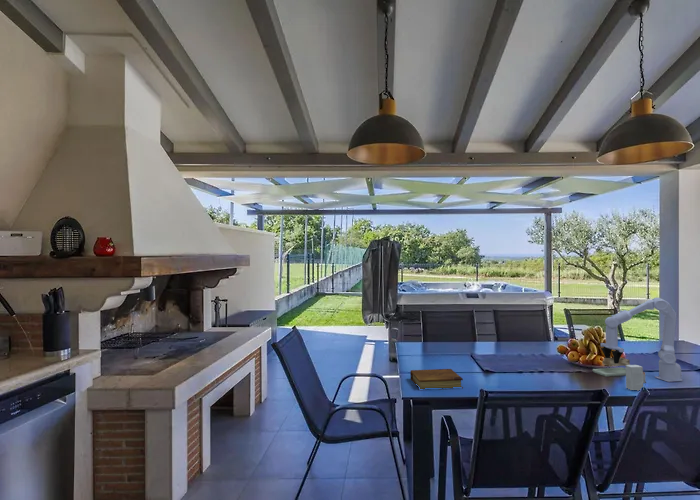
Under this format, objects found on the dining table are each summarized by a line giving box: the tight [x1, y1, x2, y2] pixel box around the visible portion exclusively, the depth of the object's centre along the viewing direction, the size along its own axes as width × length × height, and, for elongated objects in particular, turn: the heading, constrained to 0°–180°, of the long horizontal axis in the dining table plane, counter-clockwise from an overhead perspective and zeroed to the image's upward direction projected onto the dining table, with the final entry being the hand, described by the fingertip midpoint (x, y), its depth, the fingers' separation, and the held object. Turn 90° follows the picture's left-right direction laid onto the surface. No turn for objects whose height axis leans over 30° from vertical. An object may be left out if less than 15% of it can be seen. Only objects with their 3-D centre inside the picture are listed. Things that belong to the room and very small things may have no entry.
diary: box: [409, 368, 464, 389], centre depth 213 cm, size 23×19×6 cm
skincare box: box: [625, 364, 644, 392], centre depth 200 cm, size 6×4×12 cm
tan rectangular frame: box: [601, 357, 631, 367], centre depth 228 cm, size 14×5×3 cm, turn 98°
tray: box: [592, 366, 626, 378], centre depth 228 cm, size 20×10×2 cm, turn 98°
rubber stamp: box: [643, 371, 647, 384], centre depth 212 cm, size 3×4×5 cm, turn 8°
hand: (612, 361), depth 228 cm, fingers closed on tan rectangular frame, 5 cm apart
